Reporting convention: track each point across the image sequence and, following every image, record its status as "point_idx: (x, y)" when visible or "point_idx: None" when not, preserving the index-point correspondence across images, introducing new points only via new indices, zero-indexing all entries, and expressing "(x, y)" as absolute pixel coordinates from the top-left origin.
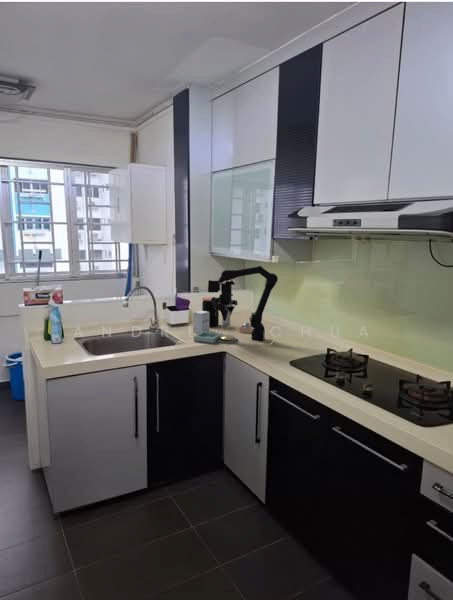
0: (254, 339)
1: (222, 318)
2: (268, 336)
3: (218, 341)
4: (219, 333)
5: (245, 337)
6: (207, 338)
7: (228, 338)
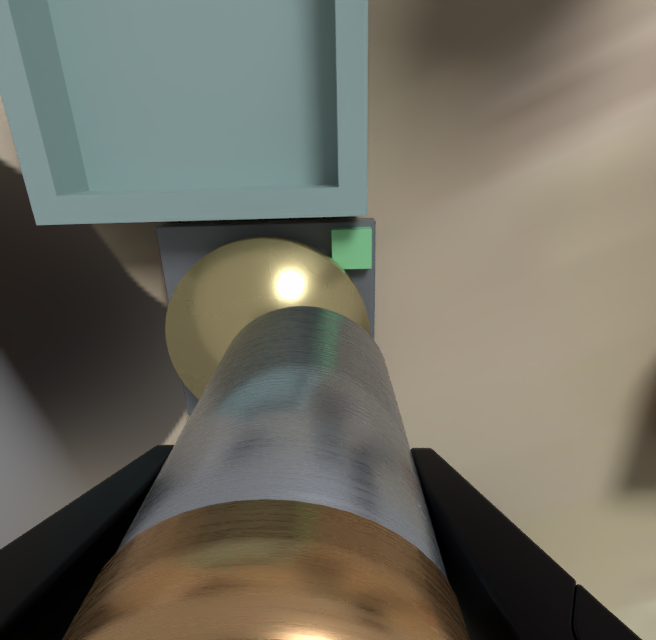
0: None
1: (206, 408)
2: (616, 586)
3: (163, 250)
4: (357, 176)
5: (516, 430)
6: (12, 117)
7: (197, 385)
